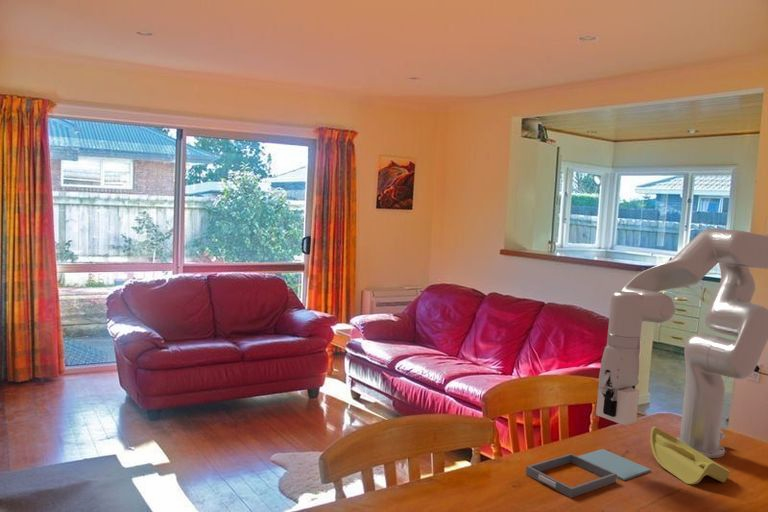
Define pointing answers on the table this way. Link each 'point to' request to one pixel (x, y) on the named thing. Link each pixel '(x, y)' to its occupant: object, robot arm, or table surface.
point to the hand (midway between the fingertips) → (616, 412)
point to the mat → (615, 464)
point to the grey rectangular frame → (535, 473)
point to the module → (621, 405)
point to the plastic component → (684, 459)
